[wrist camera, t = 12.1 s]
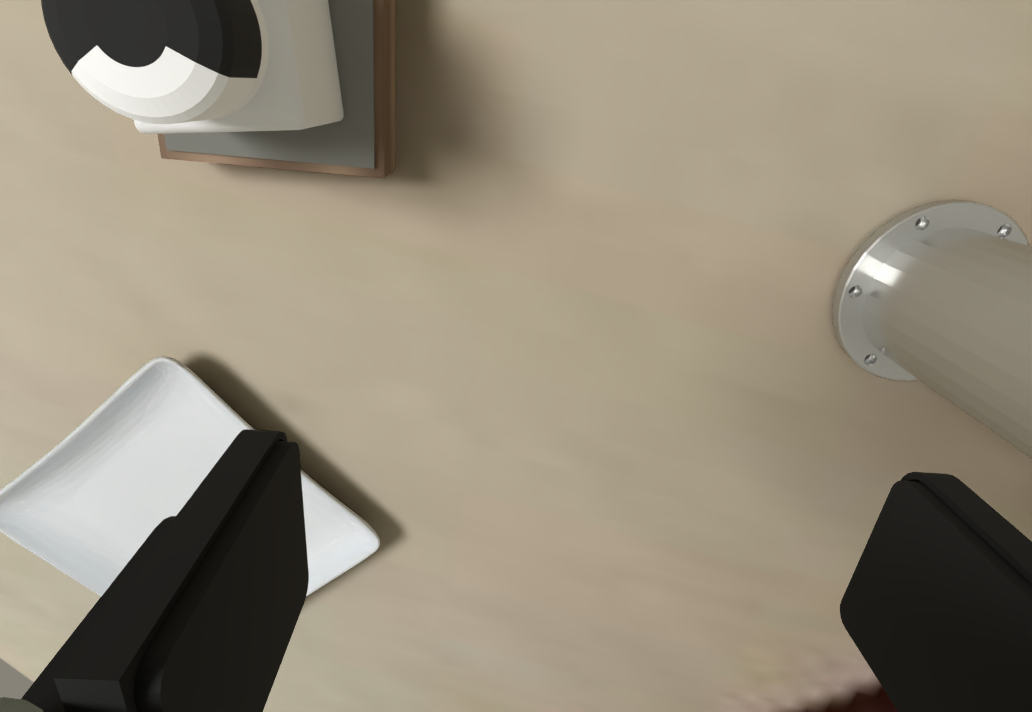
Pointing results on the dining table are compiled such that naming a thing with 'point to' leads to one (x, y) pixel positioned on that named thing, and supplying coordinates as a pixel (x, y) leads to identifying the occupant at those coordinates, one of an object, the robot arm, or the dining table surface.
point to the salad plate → (151, 482)
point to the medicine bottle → (202, 61)
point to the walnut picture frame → (335, 146)
